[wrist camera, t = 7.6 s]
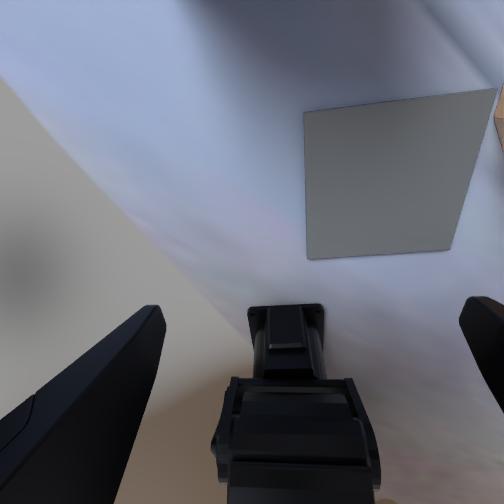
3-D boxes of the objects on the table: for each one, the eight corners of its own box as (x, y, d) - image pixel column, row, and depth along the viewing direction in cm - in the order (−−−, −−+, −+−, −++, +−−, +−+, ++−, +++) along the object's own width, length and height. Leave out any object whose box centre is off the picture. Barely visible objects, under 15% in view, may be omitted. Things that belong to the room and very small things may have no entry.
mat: (446, 246, 20) (449, 249, 20) (306, 256, 22) (307, 259, 21) (492, 88, 15) (497, 88, 15) (303, 112, 16) (304, 113, 16)
